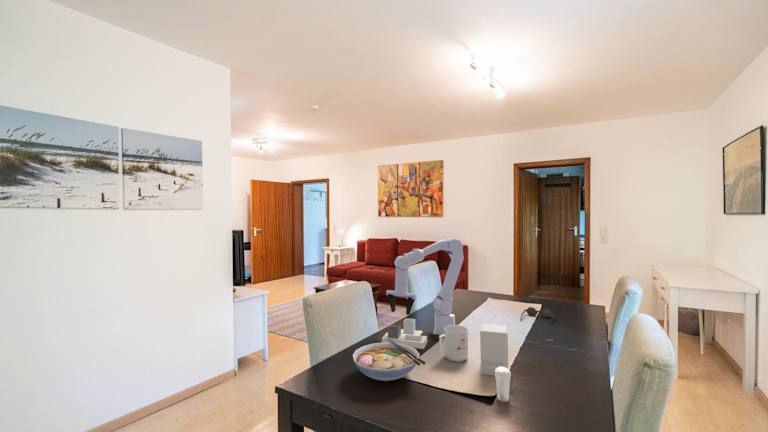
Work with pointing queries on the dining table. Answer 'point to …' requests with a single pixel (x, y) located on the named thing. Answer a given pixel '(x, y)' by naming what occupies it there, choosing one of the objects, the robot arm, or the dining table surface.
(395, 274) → the robot arm
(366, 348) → the ramen bowl
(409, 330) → the plug block
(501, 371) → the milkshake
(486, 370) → the supplement box
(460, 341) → the mug
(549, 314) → the eyeglasses
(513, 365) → the dining table surface
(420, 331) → the pad
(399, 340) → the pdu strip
